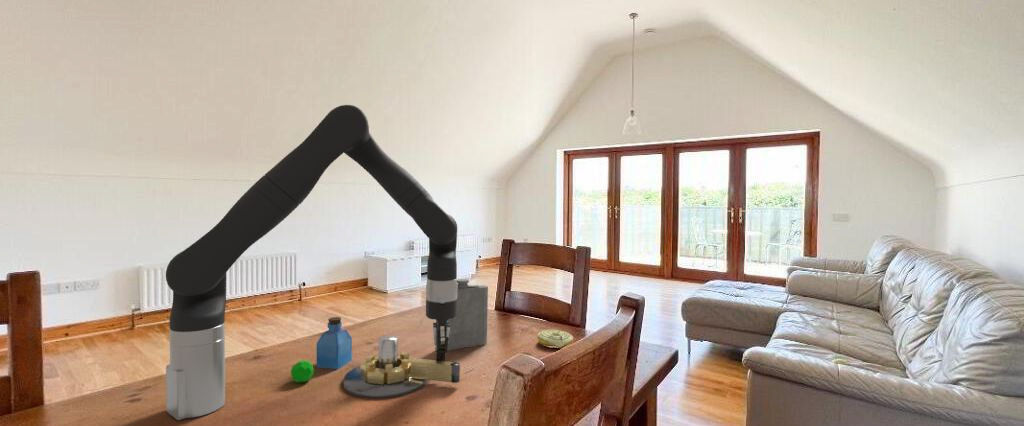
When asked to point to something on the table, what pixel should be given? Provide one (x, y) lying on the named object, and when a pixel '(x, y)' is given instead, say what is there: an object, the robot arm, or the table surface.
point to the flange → (386, 356)
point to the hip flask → (469, 316)
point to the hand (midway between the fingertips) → (440, 367)
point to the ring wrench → (409, 370)
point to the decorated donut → (555, 338)
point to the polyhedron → (302, 371)
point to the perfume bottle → (334, 346)
